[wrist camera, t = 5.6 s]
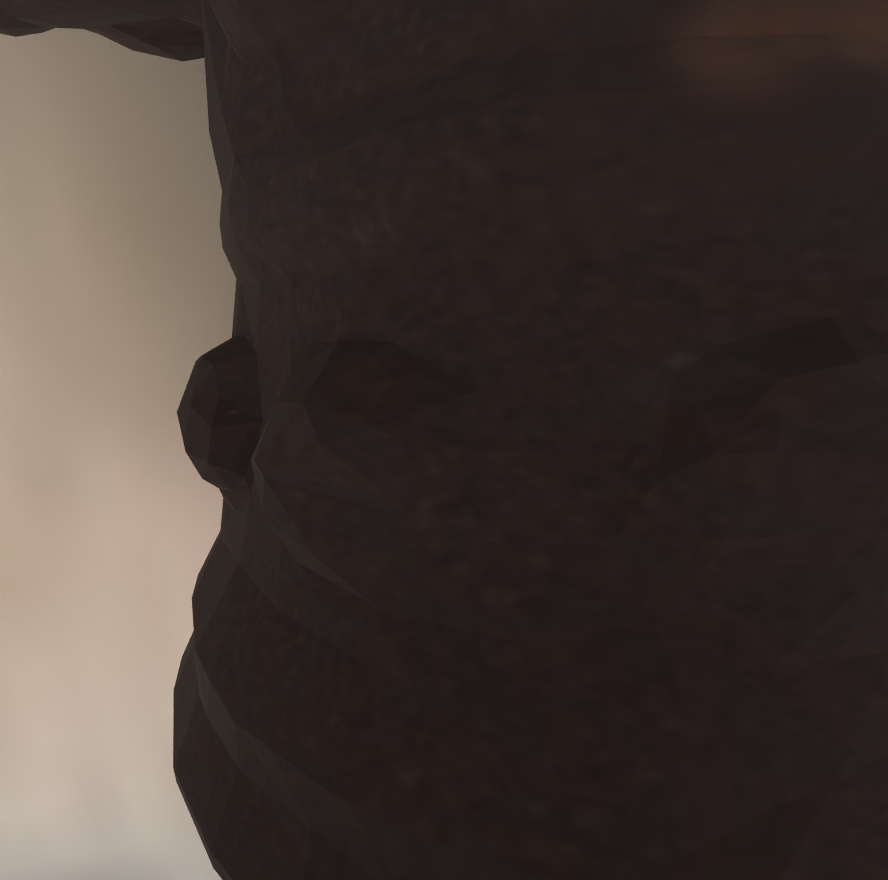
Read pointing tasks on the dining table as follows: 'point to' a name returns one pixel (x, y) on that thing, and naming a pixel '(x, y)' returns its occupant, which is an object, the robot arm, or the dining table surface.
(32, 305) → the dining table surface
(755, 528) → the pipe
